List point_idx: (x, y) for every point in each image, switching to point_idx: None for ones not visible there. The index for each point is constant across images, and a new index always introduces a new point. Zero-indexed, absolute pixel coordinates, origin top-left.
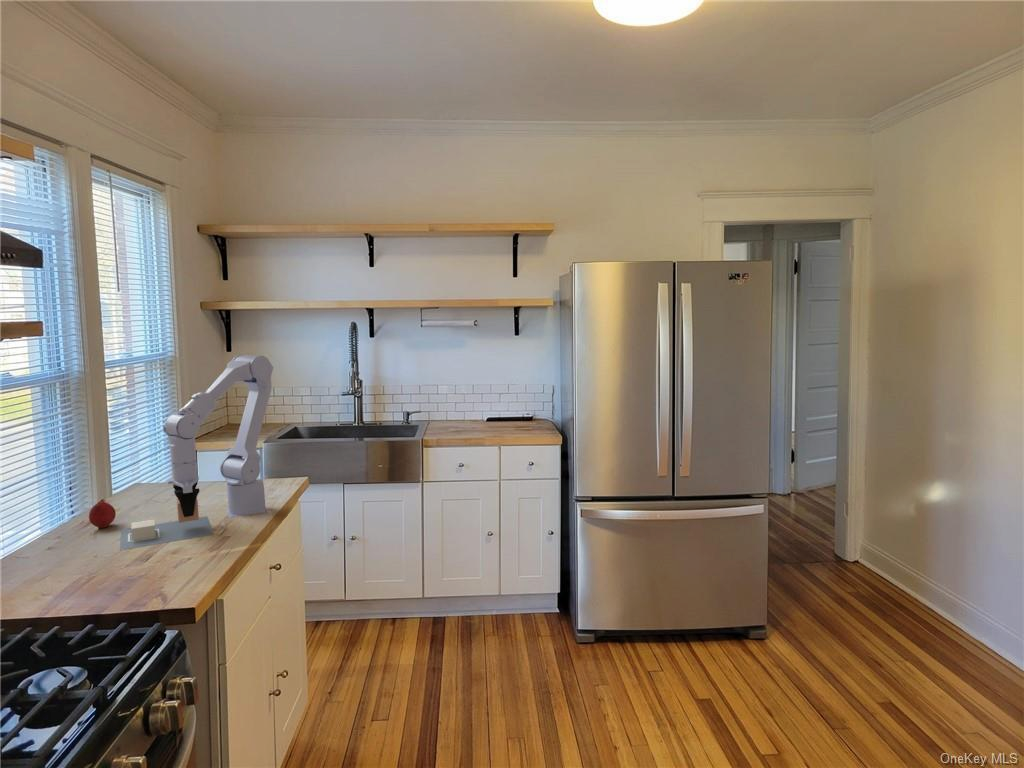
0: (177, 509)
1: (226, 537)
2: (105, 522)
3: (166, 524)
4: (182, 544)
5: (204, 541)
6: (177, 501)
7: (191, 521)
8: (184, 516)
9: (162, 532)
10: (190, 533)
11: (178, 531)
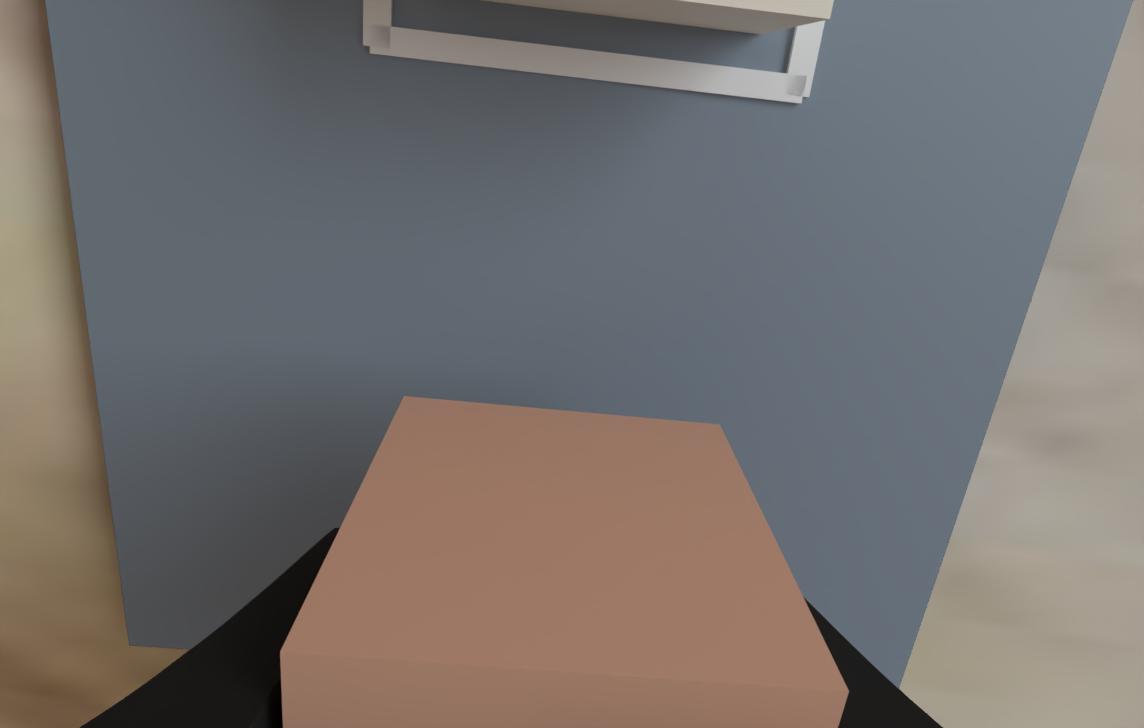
0: (669, 512)
1: (60, 715)
2: None
3: (951, 237)
4: (9, 292)
5: (17, 523)
6: (535, 678)
7: (828, 529)
8: (324, 536)
9: (595, 125)
10: (311, 445)
11: (492, 330)
